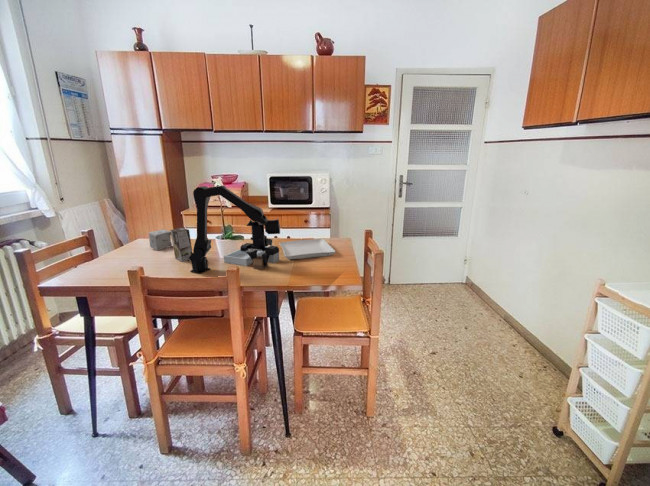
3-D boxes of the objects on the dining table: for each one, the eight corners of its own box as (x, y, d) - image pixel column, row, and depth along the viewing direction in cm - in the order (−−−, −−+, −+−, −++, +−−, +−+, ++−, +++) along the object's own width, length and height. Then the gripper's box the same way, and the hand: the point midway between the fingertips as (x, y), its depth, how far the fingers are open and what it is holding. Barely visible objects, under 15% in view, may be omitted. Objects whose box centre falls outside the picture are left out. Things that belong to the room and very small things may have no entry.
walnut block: (262, 270, 142) (261, 260, 140) (253, 268, 144) (252, 258, 142) (268, 266, 146) (267, 256, 144) (259, 265, 148) (259, 255, 146)
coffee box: (194, 259, 159) (189, 229, 155) (181, 262, 155) (176, 232, 150) (186, 255, 165) (182, 227, 161) (174, 258, 161) (169, 229, 156)
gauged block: (274, 263, 150) (272, 247, 148) (265, 262, 152) (264, 246, 150) (279, 260, 155) (278, 244, 152) (271, 259, 157) (270, 243, 154)
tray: (246, 266, 147) (245, 259, 146) (224, 262, 153) (223, 256, 152) (271, 253, 166) (271, 246, 165) (251, 250, 172) (250, 244, 171)
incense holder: (158, 250, 174) (155, 233, 172) (150, 249, 178) (146, 232, 175) (173, 246, 183) (171, 230, 180) (165, 244, 187) (162, 228, 184)
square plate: (285, 263, 151) (285, 255, 150) (279, 247, 177) (278, 241, 176) (336, 257, 158) (336, 250, 157) (323, 243, 184) (322, 237, 182)
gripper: (284, 232, 143) (286, 262, 148) (252, 229, 151) (255, 258, 155) (271, 238, 134) (273, 270, 138) (238, 234, 141) (241, 265, 145)
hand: (260, 265), depth 144 cm, fingers closed on walnut block, 5 cm apart
